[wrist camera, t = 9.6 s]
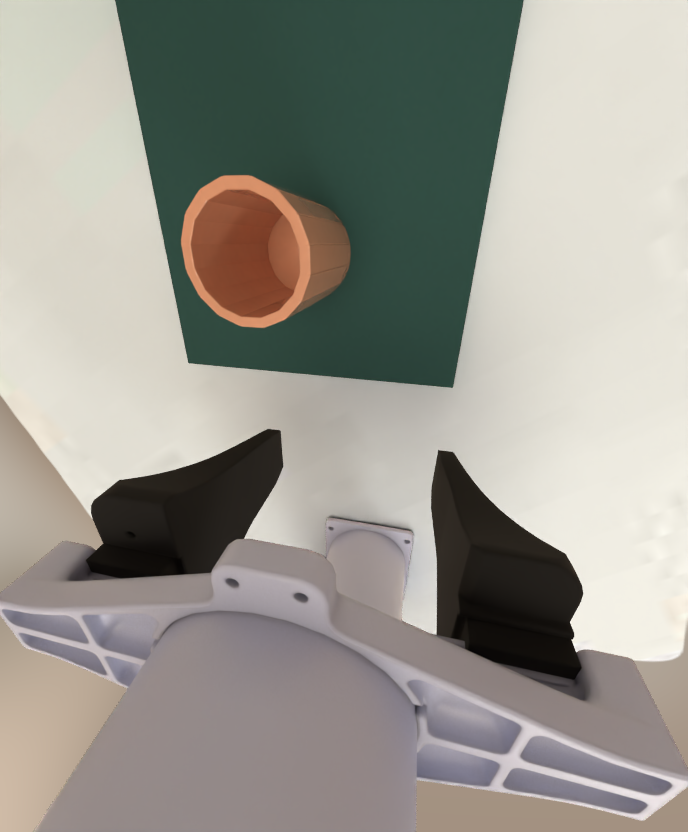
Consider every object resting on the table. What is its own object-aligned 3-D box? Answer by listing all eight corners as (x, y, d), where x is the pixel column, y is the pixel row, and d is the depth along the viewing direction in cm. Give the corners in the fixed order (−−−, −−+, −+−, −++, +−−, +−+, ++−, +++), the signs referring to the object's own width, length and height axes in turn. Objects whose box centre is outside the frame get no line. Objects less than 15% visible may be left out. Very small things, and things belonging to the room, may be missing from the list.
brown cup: (349, 301, 22) (311, 331, 14) (269, 297, 23) (194, 323, 15) (352, 200, 19) (308, 174, 12) (261, 200, 20) (168, 175, 13)
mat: (452, 384, 23) (452, 387, 23) (192, 360, 27) (188, 363, 26) (532, -58, 14) (536, -69, 14) (120, -8, 18) (111, -16, 17)
